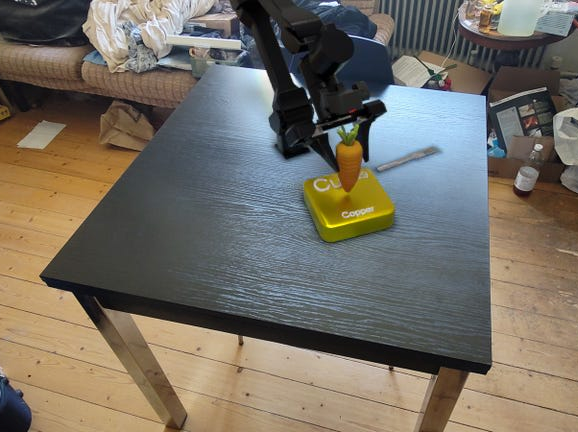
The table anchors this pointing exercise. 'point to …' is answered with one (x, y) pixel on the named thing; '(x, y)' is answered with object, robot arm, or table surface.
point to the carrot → (348, 158)
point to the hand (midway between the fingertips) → (353, 167)
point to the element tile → (348, 206)
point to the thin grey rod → (408, 158)
